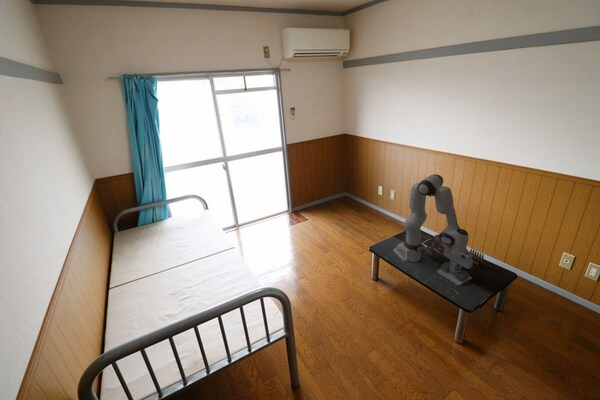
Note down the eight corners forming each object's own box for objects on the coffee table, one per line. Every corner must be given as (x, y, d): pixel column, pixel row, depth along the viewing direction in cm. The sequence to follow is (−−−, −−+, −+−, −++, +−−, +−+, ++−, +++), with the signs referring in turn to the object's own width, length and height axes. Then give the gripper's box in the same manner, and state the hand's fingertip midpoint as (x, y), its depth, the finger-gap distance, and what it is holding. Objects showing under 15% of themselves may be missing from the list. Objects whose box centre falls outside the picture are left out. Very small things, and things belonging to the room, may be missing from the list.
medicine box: (453, 250, 232) (454, 242, 229) (444, 252, 231) (445, 244, 228) (441, 241, 246) (443, 233, 243) (433, 242, 245) (434, 234, 242)
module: (449, 270, 204) (450, 262, 201) (456, 266, 207) (457, 258, 204) (454, 273, 201) (455, 265, 198) (461, 269, 204) (462, 261, 201)
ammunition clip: (466, 260, 220) (469, 248, 215) (468, 260, 220) (471, 247, 215) (480, 268, 211) (483, 255, 206) (482, 267, 212) (485, 254, 207)
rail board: (436, 271, 211) (437, 265, 208) (449, 265, 216) (450, 259, 214) (458, 285, 196) (460, 279, 194) (471, 278, 202) (473, 272, 199)
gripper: (442, 245, 204) (440, 260, 210) (469, 259, 187) (466, 276, 193) (448, 242, 207) (445, 257, 212) (475, 256, 190) (472, 272, 196)
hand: (455, 266), depth 203 cm, fingers closed on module, 4 cm apart
